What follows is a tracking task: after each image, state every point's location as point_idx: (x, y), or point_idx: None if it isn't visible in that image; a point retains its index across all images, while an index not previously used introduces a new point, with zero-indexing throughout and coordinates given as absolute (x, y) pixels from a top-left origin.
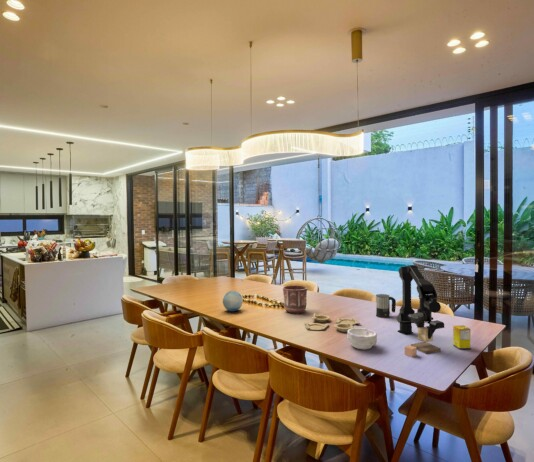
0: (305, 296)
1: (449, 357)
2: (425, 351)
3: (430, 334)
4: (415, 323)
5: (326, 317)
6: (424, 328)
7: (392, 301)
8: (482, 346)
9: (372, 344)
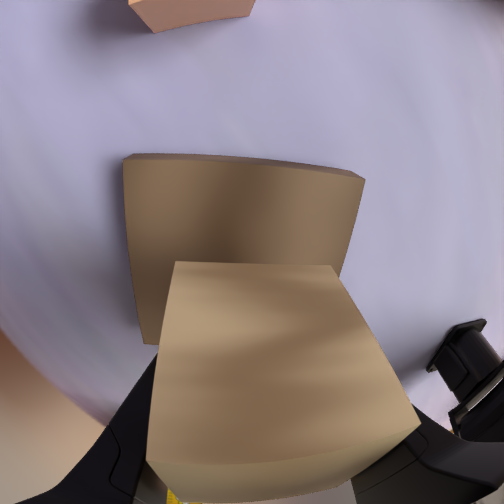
0: None
1: (29, 276)
2: (130, 159)
3: (128, 414)
4: (495, 458)
5: None
6: (292, 483)
7: None
8: None
9: None
